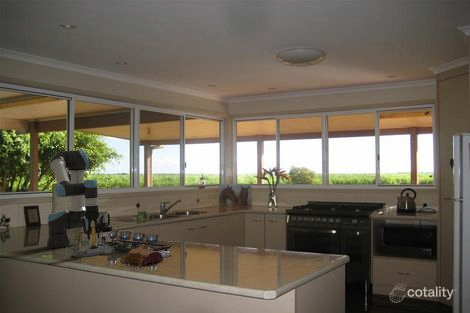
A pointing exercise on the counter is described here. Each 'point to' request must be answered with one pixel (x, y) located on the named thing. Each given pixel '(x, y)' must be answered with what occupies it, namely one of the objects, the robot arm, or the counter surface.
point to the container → (105, 234)
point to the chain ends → (94, 251)
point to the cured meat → (143, 257)
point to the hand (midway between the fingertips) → (93, 244)
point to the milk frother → (104, 219)
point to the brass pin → (93, 237)
